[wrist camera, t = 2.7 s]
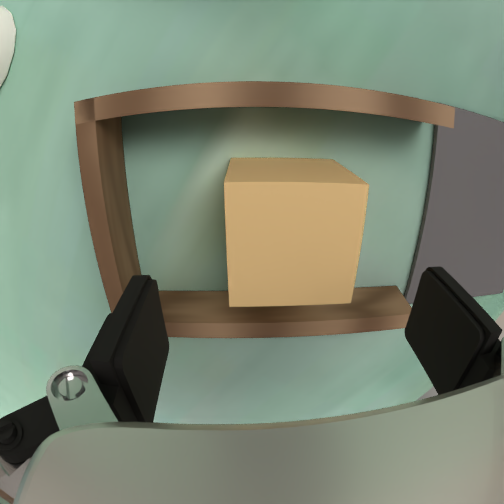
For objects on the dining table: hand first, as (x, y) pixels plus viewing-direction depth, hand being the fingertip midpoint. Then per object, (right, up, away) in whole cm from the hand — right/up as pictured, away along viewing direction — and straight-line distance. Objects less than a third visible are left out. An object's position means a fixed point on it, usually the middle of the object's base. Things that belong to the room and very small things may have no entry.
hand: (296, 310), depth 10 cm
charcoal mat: (+16, +5, +9) cm, 19 cm away
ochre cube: (0, +5, +9) cm, 10 cm away
